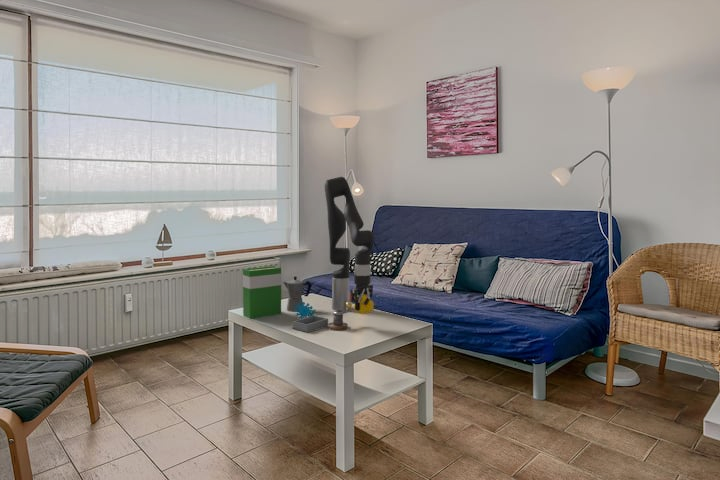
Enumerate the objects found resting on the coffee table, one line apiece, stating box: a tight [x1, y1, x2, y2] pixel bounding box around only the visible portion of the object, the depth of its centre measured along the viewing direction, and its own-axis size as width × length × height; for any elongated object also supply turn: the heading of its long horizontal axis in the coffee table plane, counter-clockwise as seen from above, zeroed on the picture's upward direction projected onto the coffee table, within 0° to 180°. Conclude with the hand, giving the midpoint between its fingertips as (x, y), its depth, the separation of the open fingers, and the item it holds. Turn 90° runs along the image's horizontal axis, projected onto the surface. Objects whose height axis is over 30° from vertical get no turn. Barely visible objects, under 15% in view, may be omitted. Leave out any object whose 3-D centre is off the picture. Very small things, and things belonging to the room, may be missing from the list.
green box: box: [242, 265, 282, 320], centre depth 245 cm, size 18×7×24 cm, turn 129°
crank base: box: [327, 314, 349, 331], centre depth 224 cm, size 9×9×6 cm
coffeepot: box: [282, 276, 313, 313], centre depth 257 cm, size 15×9×18 cm, turn 87°
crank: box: [332, 301, 353, 316], centre depth 227 cm, size 12×4×4 cm, turn 142°
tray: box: [292, 315, 329, 333], centre depth 224 cm, size 14×9×4 cm, turn 142°
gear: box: [295, 301, 317, 319], centre depth 241 cm, size 11×6×10 cm
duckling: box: [350, 293, 375, 315], centre depth 223 cm, size 11×5×10 cm, turn 84°
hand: (362, 308), depth 224 cm, fingers closed on duckling, 6 cm apart
